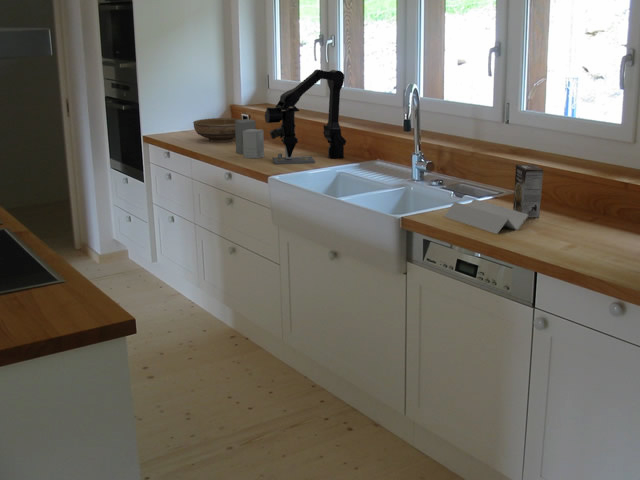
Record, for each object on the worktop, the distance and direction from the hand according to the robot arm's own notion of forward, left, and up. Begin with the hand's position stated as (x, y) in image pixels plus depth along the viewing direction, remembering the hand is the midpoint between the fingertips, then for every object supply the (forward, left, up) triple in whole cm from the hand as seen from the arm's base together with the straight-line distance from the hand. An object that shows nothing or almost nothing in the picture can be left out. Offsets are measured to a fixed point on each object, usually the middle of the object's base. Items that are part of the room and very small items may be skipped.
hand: (288, 156), depth 355 cm
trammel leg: (0, 0, -1) cm, 1 cm away
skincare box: (+18, -26, -3) cm, 32 cm away
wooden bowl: (+29, -67, -3) cm, 73 cm away
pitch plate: (-2, 0, -2) cm, 3 cm away
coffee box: (-68, +109, -3) cm, 129 cm away
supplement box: (+15, -14, -3) cm, 21 cm away
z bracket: (-51, +116, -3) cm, 127 cm away
